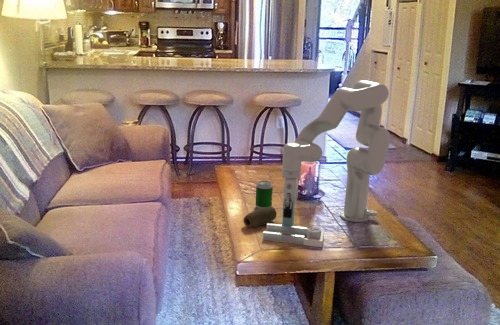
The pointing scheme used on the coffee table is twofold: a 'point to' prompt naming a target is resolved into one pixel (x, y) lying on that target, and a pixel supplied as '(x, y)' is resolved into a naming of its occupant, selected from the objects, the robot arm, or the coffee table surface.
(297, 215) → the coffee table surface
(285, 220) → the block
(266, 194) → the soda can
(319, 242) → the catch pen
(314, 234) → the die
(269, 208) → the brown hollow cylinder
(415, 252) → the coffee table surface
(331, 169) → the coffee table surface
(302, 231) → the slot rails
